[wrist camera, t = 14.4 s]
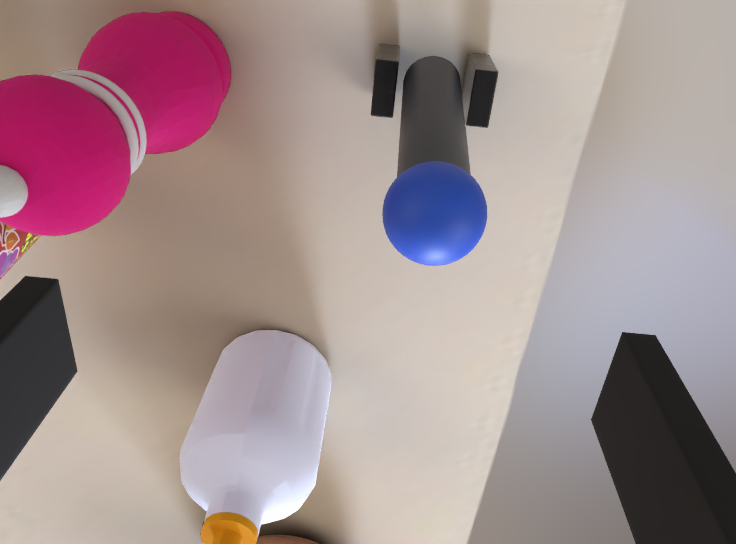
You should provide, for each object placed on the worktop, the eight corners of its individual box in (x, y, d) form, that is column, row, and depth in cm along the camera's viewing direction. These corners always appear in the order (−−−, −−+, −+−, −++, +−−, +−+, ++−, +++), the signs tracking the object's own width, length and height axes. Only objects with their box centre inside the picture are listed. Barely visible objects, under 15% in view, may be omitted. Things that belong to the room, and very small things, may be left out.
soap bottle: (284, 307, 46) (178, 651, 24) (354, 388, 49) (314, 750, 28) (194, 358, 49) (30, 705, 27) (267, 431, 52) (170, 788, 31)
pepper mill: (257, 109, 38) (131, 272, 21) (152, 138, 40) (-47, 313, 22) (211, -14, 35) (18, 60, 18) (98, 21, 36) (-185, 123, 19)
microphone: (391, 114, 36) (398, 43, 34) (462, 121, 36) (476, 50, 33) (375, 281, 25) (385, 193, 22) (479, 291, 25) (502, 205, 22)
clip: (379, 43, 36) (375, 58, 32) (489, 54, 36) (498, 71, 32) (374, 95, 37) (370, 116, 34) (479, 105, 37) (487, 128, 34)
